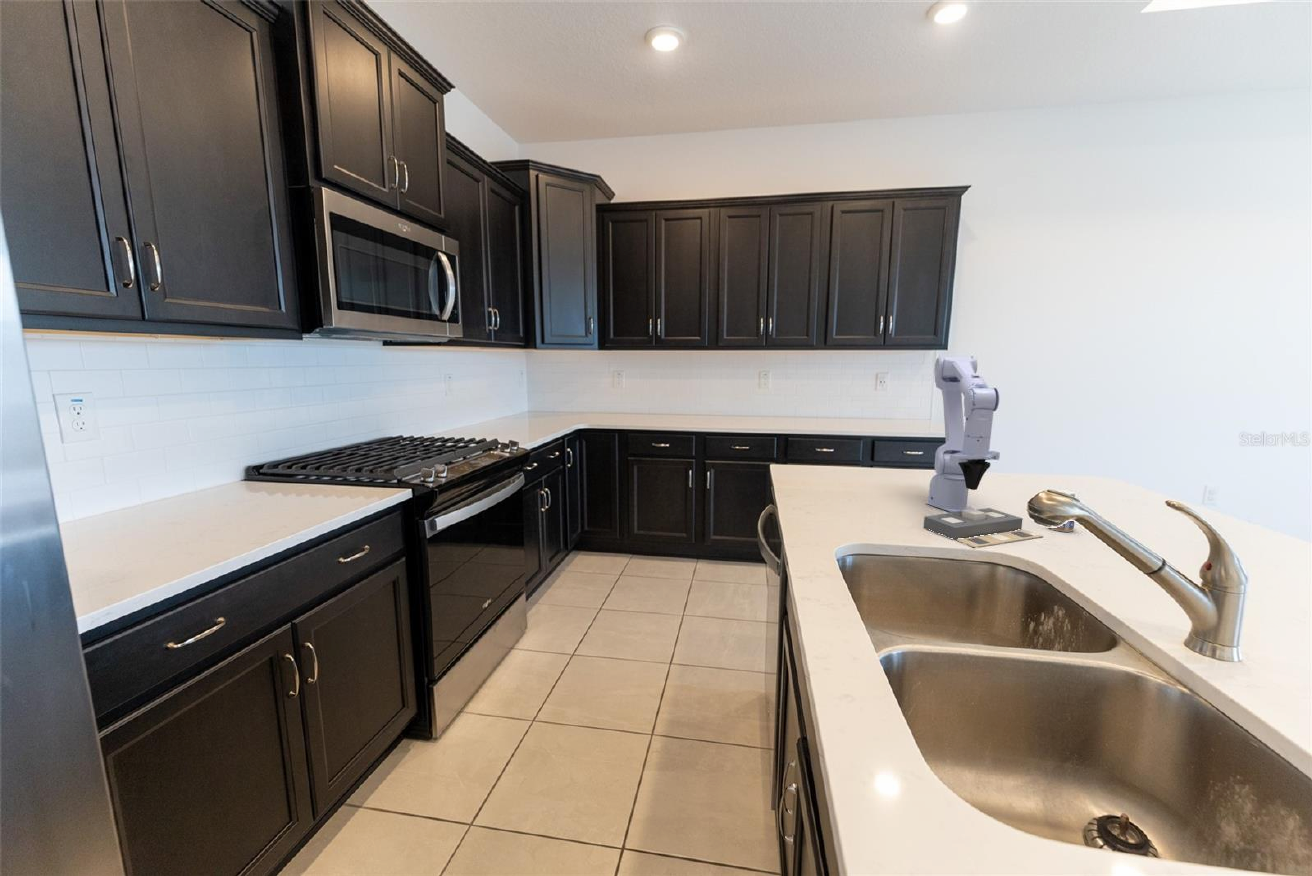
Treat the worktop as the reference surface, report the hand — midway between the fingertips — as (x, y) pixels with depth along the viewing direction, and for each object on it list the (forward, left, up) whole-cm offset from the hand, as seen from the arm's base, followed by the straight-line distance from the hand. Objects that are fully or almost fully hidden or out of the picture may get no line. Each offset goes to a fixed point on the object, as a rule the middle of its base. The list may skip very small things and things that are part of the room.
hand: (971, 488), depth 133 cm
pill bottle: (+10, +19, -10) cm, 24 cm away
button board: (+3, -2, -9) cm, 10 cm away
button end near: (+3, -9, -9) cm, 13 cm away
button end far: (+3, +5, -9) cm, 11 cm away
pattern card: (+10, -2, -9) cm, 14 cm away
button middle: (+3, -2, -8) cm, 9 cm away
